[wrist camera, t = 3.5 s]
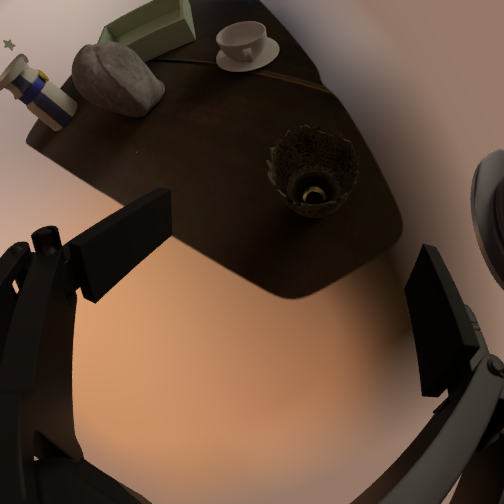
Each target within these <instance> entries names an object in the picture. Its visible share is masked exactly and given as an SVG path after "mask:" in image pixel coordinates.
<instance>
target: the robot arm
mask: <svg viewBox="0 0 504 504" xmlns="http://www.w3.org/2000/svg"><path fill="white" fill-rule="evenodd" d="M495 207H496V216H497V221H498V225H499V229H500V233H501V235H502V238H503V241H504V176H503V177H502V178H501V179H500V181H499V183H498V186H497V190H496V197H495ZM171 235H172V217H171V189H166V188H157V189H155V190H153V191H152V192H150V193H148V194H146V195H144V196H142V197H141V198H139V199H137V200H135V201H134V202H132V203H130V204H128V205H127V206H125V207H123V208H121V209H120V210H118V211H116V212H115V213H113V214H111V215H110V216H108V217H106V218H105V219H103V220H101V221H100V222H98V223H96V224H95V225H93V226H92V227H90V228H89V229H87V230H85V231H84V232H82V233H81V234H79V235H78V236H76V237H75V238H73V239H72V240H70V241H69V242H67V243H66V244H65V245H63V246H62V244H61V240H60V235H59V231H58V228H57V227H56V226H46V227H42V228H40V229H38V230H36V231H35V232H34V233H33V234H32V235H31V238H32V241H33V245H34V248H35V251H36V252H31V250H30V247H29V244H28V243H27V242H17V243H15V244H14V245H12V246H11V247H10V248H8V249H7V251H6V252H5V253H4V254H3V255H2V257H1V258H0V504H152V503H151V502H149V501H148V500H147V499H146V498H144V497H143V496H142V495H140V494H138V493H137V492H135V491H133V490H132V489H130V488H128V487H126V486H125V485H123V484H122V483H120V482H118V481H117V480H115V479H113V478H112V477H110V476H109V475H107V474H105V473H104V472H102V471H101V470H99V469H98V468H96V467H95V466H93V465H92V464H90V463H89V462H87V461H86V460H85V459H84V457H83V452H82V450H81V447H80V445H79V443H78V441H77V439H76V436H75V431H74V419H73V401H72V355H73V336H74V323H75V313H76V304H77V294H76V292H75V291H76V290H77V289H78V288H79V287H80V288H81V291H82V294H83V297H84V298H85V299H87V300H89V301H91V302H93V303H97V302H98V301H99V300H100V299H101V298H102V297H103V296H104V295H105V294H106V293H107V292H108V291H109V290H110V289H111V288H112V287H114V286H115V285H116V284H117V283H118V282H119V281H120V280H121V279H122V278H123V277H124V276H126V275H127V274H128V273H129V272H130V271H131V270H132V269H133V268H134V267H135V266H137V265H138V264H139V263H140V262H141V261H142V260H144V259H145V258H146V257H147V256H148V255H149V254H150V253H152V252H153V251H154V250H155V249H156V248H157V247H159V246H160V245H161V244H162V243H163V242H164V241H165V240H167V239H168V238H169V237H170V236H171ZM14 280H15V281H16V283H17V286H18V288H19V291H18V293H16V292H15V290H14V288H13V285H12V283H13V281H14ZM404 291H405V295H406V299H407V303H408V308H409V313H410V318H411V323H412V328H413V334H414V339H415V345H416V352H417V358H418V366H419V373H420V381H421V391H422V396H427V397H439V396H440V395H441V394H442V393H443V392H444V391H445V390H446V389H447V390H448V397H447V398H446V399H445V400H444V401H443V402H442V403H441V404H440V405H439V406H438V408H436V409H435V410H434V411H433V413H434V415H433V417H432V418H431V419H430V421H429V422H428V423H427V425H426V426H425V427H424V428H423V430H422V431H421V432H420V433H419V435H418V436H417V437H416V438H415V440H414V441H413V442H412V443H411V444H410V446H409V447H408V448H407V449H406V450H405V451H404V452H403V453H402V454H401V456H400V457H399V458H398V459H397V460H396V461H395V462H394V463H393V464H392V465H391V466H390V467H389V468H388V469H387V470H386V471H385V472H384V473H383V475H381V476H380V477H379V478H378V479H377V480H376V481H375V482H374V483H373V484H372V485H371V486H370V487H369V488H367V489H366V490H365V491H364V492H363V493H362V494H361V495H360V496H358V497H357V498H356V499H355V500H354V501H353V502H351V503H350V504H441V503H442V501H443V500H444V498H445V497H446V496H447V494H448V493H449V492H450V490H451V489H452V487H453V486H454V484H455V483H456V481H457V480H458V478H459V477H460V475H461V474H462V475H461V478H460V480H459V482H458V485H457V488H456V490H455V492H454V495H453V497H452V499H451V501H450V503H449V504H504V364H503V362H502V361H501V360H500V359H499V358H498V357H497V356H495V355H493V354H489V351H488V348H487V345H486V342H485V340H484V337H483V334H482V332H481V331H480V330H481V329H480V327H479V325H478V324H477V323H478V322H477V320H476V317H475V315H474V313H473V312H472V310H471V309H470V308H469V307H468V305H465V304H464V303H463V301H462V299H461V297H460V294H459V292H458V290H457V288H456V285H455V283H454V281H453V279H452V277H451V275H450V273H449V271H448V269H447V267H446V265H445V264H444V261H443V259H442V257H441V256H440V254H439V252H438V250H437V248H436V247H433V246H430V245H426V244H423V245H422V248H421V251H420V253H419V256H418V258H417V261H416V263H415V266H414V268H413V270H412V273H411V275H410V278H409V280H408V282H407V284H406V286H405V289H404ZM34 456H36V457H37V458H38V459H39V460H36V461H34Z"/></svg>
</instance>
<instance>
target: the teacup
mask: <svg viewBox="0 0 504 504" xmlns="http://www.w3.org/2000/svg"><path fill="white" fill-rule="evenodd" d="M216 41H217V43H218V45H219V46H220V48H221V50H220V51H219V53H218V55H217V57H216V62H217V64H218V66H219V67H220V68H222V69H224V70H227V71H232V72H243V71H250V70H254V69H257V68H260V67H262V66H264V65H266V64H268V63H270V62H271V61H273V60H274V59H275V58H276V56H277V55H278V53H279V45H278V44H277V42H275V41H274V40H272V39H270V38H267V36H266V28H265V26H264V25H263V24H261V23H258V22H253V21H246V22H239V23H235V24H232V25H230V26H228V27H226V28H224V29H223V30H221V31H220V32H219V33H218V35H217V37H216Z"/></svg>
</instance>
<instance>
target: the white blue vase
mask: <svg viewBox="0 0 504 504" xmlns="http://www.w3.org/2000/svg"><path fill="white" fill-rule="evenodd" d="M4 43H5V47H9V48H10V49H11V50H13V47H14V46H15V45H14V44H12V43H11V40H9V41H5V40H4ZM27 63H28V59H27V57H26V56H25V55H24V54H19V55H18V56H17V57H16V58H15V59H14V60H13V61H12V62H11V63H10V64H9V66H8V67H7V68H6V69H5V71H4V72H3V73H2V75H1V76H0V90H2V89H3V88H6V89H8V90H10V91H11V92H12V93H13V94H14V98H15V99H19V100H21V101H22V102H23V103H24V104H26V106H27V108H28V109H29V110H30V111H31V112H32V113H33V114H35V115H36V116H37V117H38V118H40V119H41V120H42V121H43V122H45V123H46V124H47V125H48V126H49V127H50V128H51V129H53V130H54V131H59V130H60V129H62V128H63V127H64V126H65V125H66V124H67V123H68V122H69V121H70V120H71V118H72V117H73V115H74V114H75V112H76V109H77V102H76V101H74V100H73V99H72V98H70V97H69V96H68V95H67V94H65V93H64V92H63V91H62V90H61V89H59V88H58V87H57V86H56V85H55V84H54V83H52V82H51V81H49V79H48V77H47V76H46V75H45V74H44V73H43V72H42V71H40V70H34V69H32V68H30V67H29V66H28V64H27Z"/></svg>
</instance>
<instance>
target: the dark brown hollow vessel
mask: <svg viewBox="0 0 504 504" xmlns="http://www.w3.org/2000/svg"><path fill="white" fill-rule="evenodd" d="M269 158H270V161H269V160H266V166H267V168H268V171H269V172H268V178H269V181H270V182H271V184H272V185H273V186H274V188H275V189H276V191H277V193H278V194H279V196H280V197H281V198H282V200H283V201H284V202H285V204H286V205H287V206H288V207H289V208H290V209H291V210H293V211H294V212H296V213H298V214H299V215H302V216H305V217H309V218H320V217H325V216H328V215H330V214H332V213H333V212H335V211H336V210H338V209H339V208H340V207H341V206H342V205H343V203H344V202H345V201H346V199H347V197H348V196H349V194H350V192H351V190H352V188H353V187H354V186H355V184H356V182H357V178H358V175H359V172H358V170H357V168H358V166H359V158H356V157H355V150H354V147H353V145H352V143H351V142H350V141H349V140H346V139H343V138H342V135H341V134H340V133H339V132H335V134H334V135H333V136H331V135H329V134H328V133H322V131H321V130H320V127H319V126H315V127H314V128H313V129H312V128H310V127H309V126H307V125H302V126H300V127H299V128H298V129H297V131H296V132H295V133H294V134H292V132H290V131H287V132H286V134H285V141H283V140H276V141H275V146H274V147H272V148H270V150H269ZM312 192H316V193H319V194H320V195H321V196H322V203H321V204H315V205H312V204H308V203H307V196H308V195H309V194H310V193H312Z"/></svg>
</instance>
